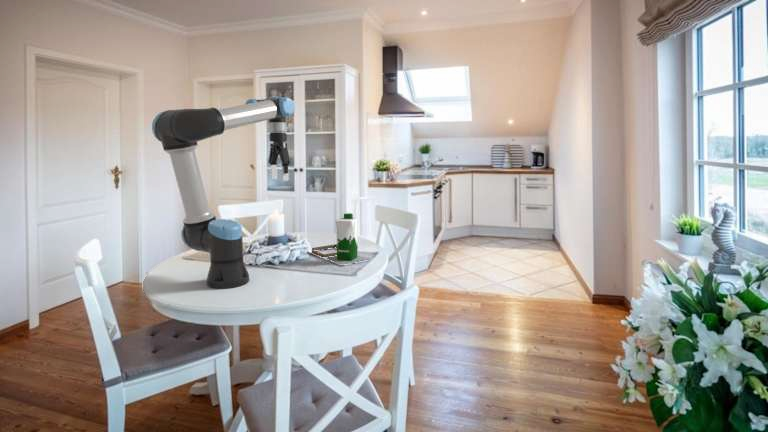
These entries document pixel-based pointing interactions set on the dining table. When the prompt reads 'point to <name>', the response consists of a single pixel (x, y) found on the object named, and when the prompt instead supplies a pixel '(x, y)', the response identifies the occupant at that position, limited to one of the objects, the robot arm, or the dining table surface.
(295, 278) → the dining table surface
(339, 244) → the soya milk
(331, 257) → the grey mat
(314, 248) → the walnut collar
